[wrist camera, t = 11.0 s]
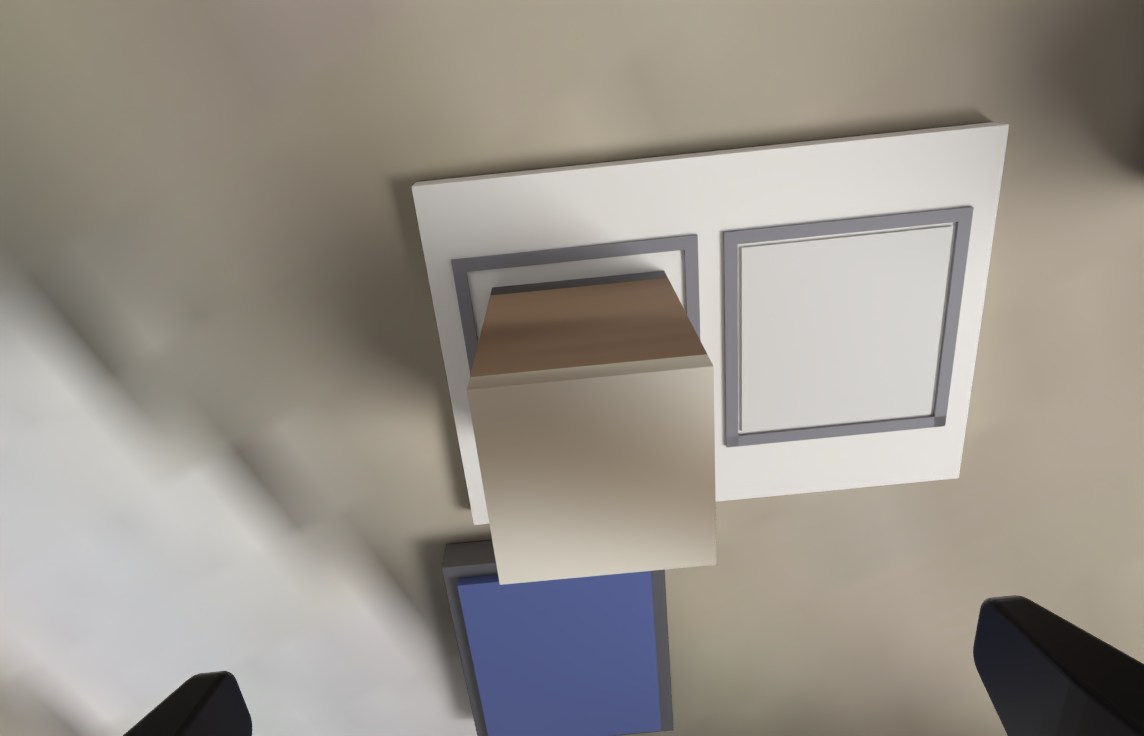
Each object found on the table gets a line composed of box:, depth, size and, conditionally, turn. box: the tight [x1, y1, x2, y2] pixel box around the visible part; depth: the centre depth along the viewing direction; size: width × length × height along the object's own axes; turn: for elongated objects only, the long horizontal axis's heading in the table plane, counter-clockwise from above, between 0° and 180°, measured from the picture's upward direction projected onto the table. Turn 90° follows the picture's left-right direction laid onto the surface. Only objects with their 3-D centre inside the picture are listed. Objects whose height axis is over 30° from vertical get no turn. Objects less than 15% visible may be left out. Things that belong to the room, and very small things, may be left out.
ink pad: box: [442, 540, 673, 736], centre depth 21 cm, size 7×6×1 cm
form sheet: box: [412, 122, 1009, 525], centre depth 18 cm, size 9×13×1 cm
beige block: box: [467, 271, 716, 585], centre depth 15 cm, size 4×4×6 cm
